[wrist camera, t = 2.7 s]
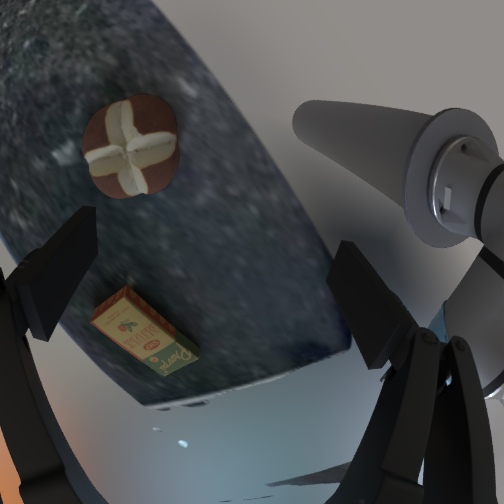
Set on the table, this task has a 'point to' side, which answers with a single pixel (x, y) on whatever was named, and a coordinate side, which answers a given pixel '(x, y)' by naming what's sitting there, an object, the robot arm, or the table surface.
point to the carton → (143, 332)
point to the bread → (132, 146)
